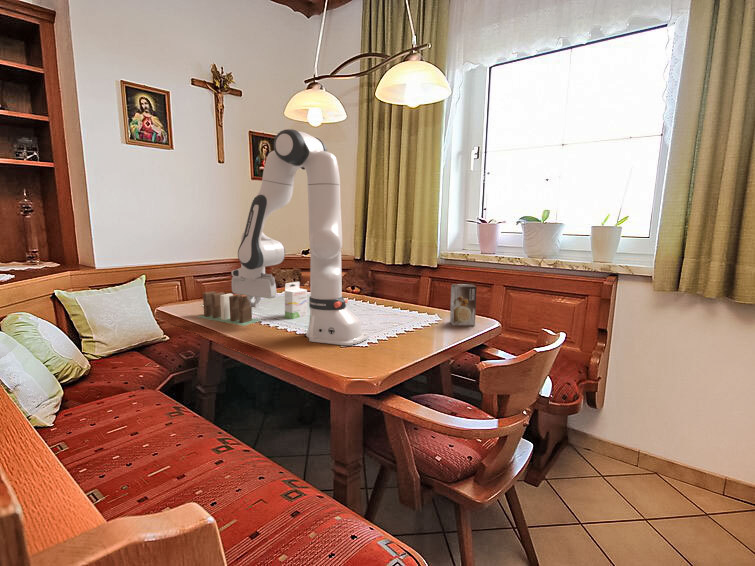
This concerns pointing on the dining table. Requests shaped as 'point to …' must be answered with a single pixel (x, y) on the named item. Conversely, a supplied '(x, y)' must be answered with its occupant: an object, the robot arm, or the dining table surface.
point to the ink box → (295, 301)
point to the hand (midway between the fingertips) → (254, 307)
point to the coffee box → (463, 304)
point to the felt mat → (229, 320)
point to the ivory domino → (225, 306)
